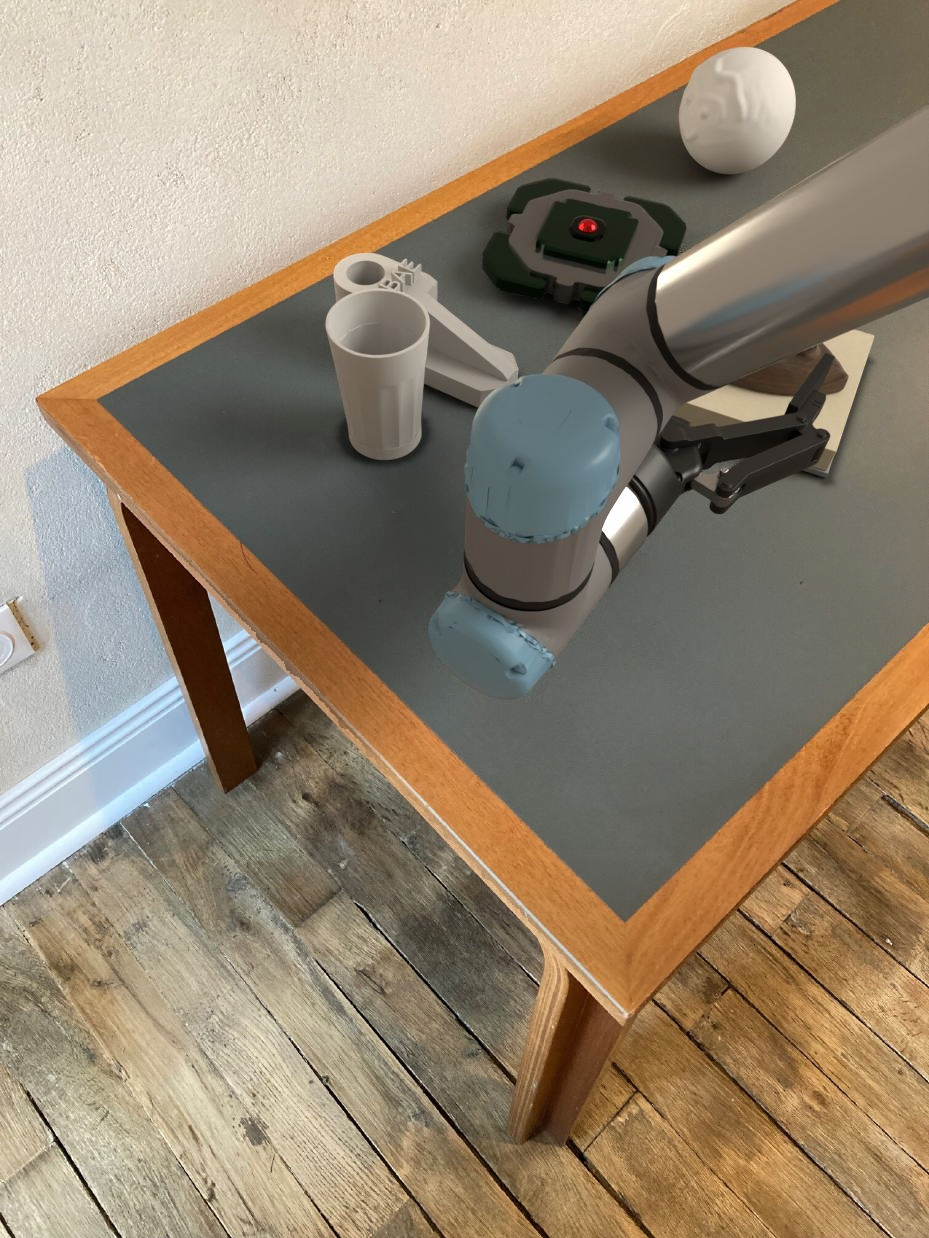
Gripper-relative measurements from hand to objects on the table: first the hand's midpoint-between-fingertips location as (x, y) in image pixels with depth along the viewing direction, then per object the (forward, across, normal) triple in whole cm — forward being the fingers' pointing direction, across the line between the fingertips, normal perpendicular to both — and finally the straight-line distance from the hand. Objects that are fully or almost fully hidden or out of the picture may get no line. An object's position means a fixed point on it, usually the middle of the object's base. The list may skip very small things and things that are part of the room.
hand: (742, 332), depth 72 cm
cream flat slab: (+9, 0, -12) cm, 15 cm away
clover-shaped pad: (+15, -22, -12) cm, 29 cm away
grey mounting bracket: (-6, -26, -12) cm, 29 cm away
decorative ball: (+39, -18, -12) cm, 44 cm away
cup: (-16, -23, -12) cm, 31 cm away
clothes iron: (+9, +1, -9) cm, 13 cm away
